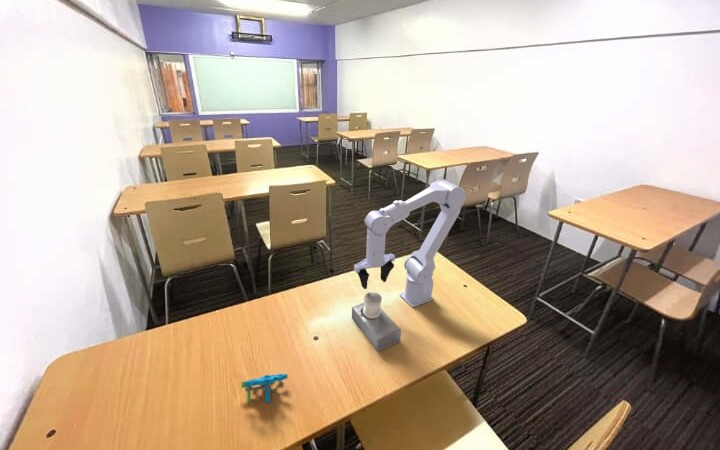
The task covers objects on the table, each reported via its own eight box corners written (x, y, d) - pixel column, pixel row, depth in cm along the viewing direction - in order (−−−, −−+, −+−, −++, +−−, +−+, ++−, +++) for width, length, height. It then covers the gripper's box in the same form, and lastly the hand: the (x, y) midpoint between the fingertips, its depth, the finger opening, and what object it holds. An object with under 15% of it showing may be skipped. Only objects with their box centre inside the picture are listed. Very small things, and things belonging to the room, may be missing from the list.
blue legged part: (291, 369, 79) (281, 375, 70) (292, 394, 77) (282, 403, 68) (249, 375, 79) (233, 382, 70) (250, 401, 77) (233, 411, 68)
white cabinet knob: (376, 304, 99) (377, 290, 96) (383, 316, 94) (385, 301, 92) (360, 308, 97) (361, 294, 94) (367, 320, 92) (368, 305, 90)
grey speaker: (372, 309, 104) (373, 299, 102) (400, 341, 91) (401, 330, 89) (351, 317, 100) (351, 306, 98) (377, 351, 87) (378, 340, 85)
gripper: (387, 237, 101) (384, 271, 106) (349, 248, 94) (349, 283, 100) (400, 247, 95) (396, 282, 101) (360, 258, 88) (359, 295, 94)
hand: (373, 283), depth 100 cm, fingers open, 7 cm apart
